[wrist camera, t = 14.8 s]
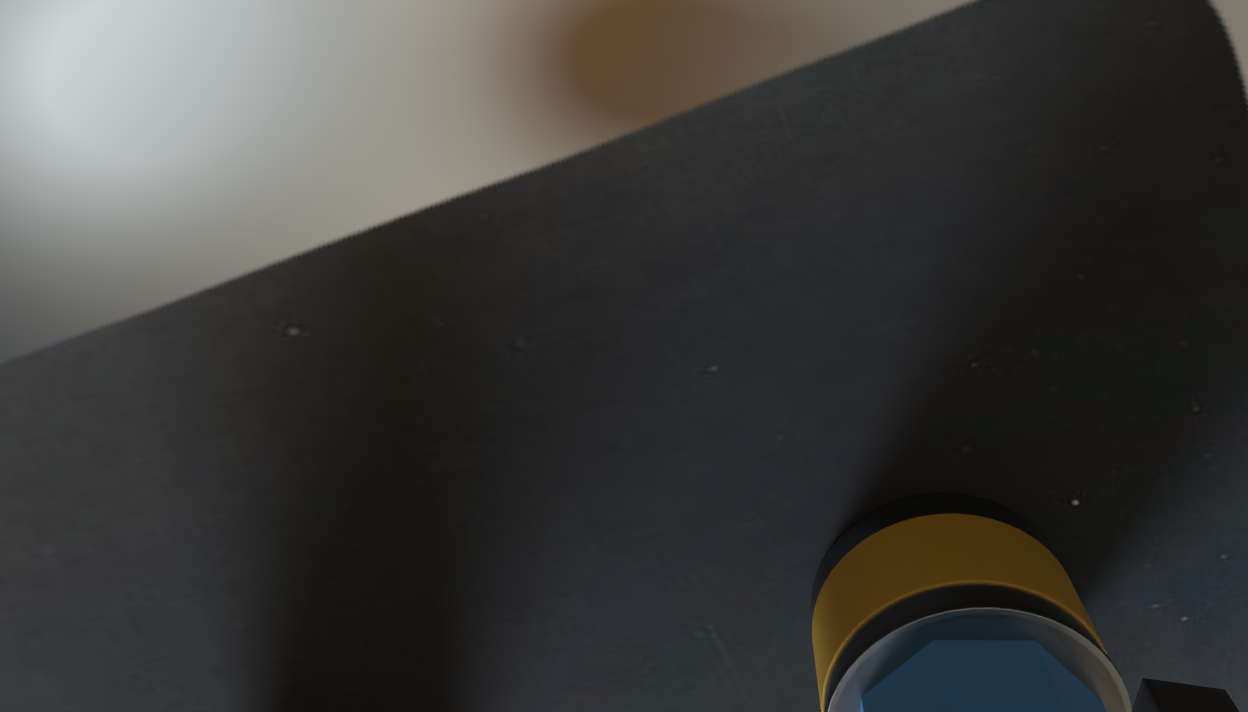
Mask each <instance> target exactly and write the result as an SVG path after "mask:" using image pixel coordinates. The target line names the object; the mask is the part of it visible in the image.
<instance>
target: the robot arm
mask: <svg viewBox="0 0 1248 712" xmlns="http://www.w3.org/2000/svg"><path fill="white" fill-rule="evenodd" d="M1132 712H1239V711H1238V709H1237V708H1236V706H1235V704H1234V703H1233V701H1232V700H1231V698H1230V696H1229V695H1228V693H1227V692H1226V690H1223V689H1216V688H1209V687H1202V686H1195V685H1188V684H1181V683H1174V682H1167V681H1160V680H1153V679H1146V678H1143V679H1142V682H1141V685H1140V688H1139V691H1138V694H1137V697H1136V700H1135V703H1134V706H1133V709H1132Z"/></svg>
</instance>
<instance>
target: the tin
mask: <svg viewBox="0 0 1248 712" xmlns="http://www.w3.org/2000/svg"><path fill="white" fill-rule="evenodd" d="M811 608H812V640H813V649H814V657H815V665H816V673H817V682H818V690H819V698H820V706H821V712H860V709H861V696H862V695H864V694H865V693H866V692H868V691H869V690H870V689H871V688H873V687H874V686H875V685H876V684H878V683H879V682H880V681H882V680H883V679H884V678H885V677H887V676H888V675H889V674H891V673H892V672H893V671H894V670H896V669H897V668H898V667H899V666H901V665H902V664H903V663H905V662H906V661H907V660H908V659H910V658H911V657H912V656H913V655H915V654H916V653H917V652H919V651H920V650H921V649H922V648H924V647H925V646H926V645H927V644H929V643H930V642H931V641H933V640H1036V641H1037V642H1038V643H1039V644H1040V645H1041V646H1042V647H1043V648H1044V649H1045V650H1047V651H1048V652H1049V653H1050V654H1051V655H1052V656H1053V657H1054V658H1055V659H1057V660H1058V661H1059V662H1060V663H1061V664H1062V665H1063V666H1064V667H1065V668H1066V669H1068V670H1069V671H1070V672H1071V673H1072V674H1073V675H1074V676H1075V677H1076V678H1078V679H1079V680H1080V681H1081V682H1082V683H1083V684H1084V685H1085V686H1086V687H1087V688H1089V689H1090V690H1091V691H1092V692H1093V693H1094V694H1095V695H1096V696H1097V697H1099V698H1100V699H1101V701H1102V703H1103V705H1104V707H1105V709H1106V712H1132V706H1131V702H1130V698H1129V694H1128V692H1127V689H1126V687H1125V685H1124V682H1123V680H1122V678H1121V676H1120V674H1119V672H1118V670H1117V669H1116V667H1115V666H1114V664H1113V662H1112V661H1111V659H1110V658H1109V656H1108V654H1107V652H1106V650H1105V647H1104V645H1103V643H1102V642H1101V640H1100V638H1099V636H1098V634H1097V632H1096V630H1095V628H1094V626H1093V624H1092V622H1091V620H1090V618H1089V616H1088V614H1087V612H1086V610H1085V608H1084V606H1083V604H1082V602H1081V600H1080V598H1079V596H1078V594H1077V592H1076V590H1075V588H1074V586H1073V584H1072V582H1071V580H1070V578H1069V576H1068V575H1067V573H1066V572H1065V570H1064V568H1063V567H1062V565H1061V564H1060V562H1059V561H1058V560H1057V558H1056V556H1055V554H1054V552H1053V551H1052V549H1051V548H1050V546H1049V545H1048V543H1047V541H1046V540H1045V539H1044V538H1043V537H1042V536H1041V534H1040V533H1039V532H1038V531H1037V530H1036V529H1035V528H1034V527H1033V526H1031V525H1030V524H1029V523H1028V522H1027V521H1026V520H1024V519H1023V518H1021V517H1020V516H1018V515H1017V514H1015V513H1014V512H1012V511H1010V510H1008V509H1006V508H1004V507H1002V506H1000V505H997V504H995V503H992V502H989V501H986V500H983V499H979V498H974V497H969V496H964V495H952V494H934V495H924V496H917V497H912V498H908V499H904V500H900V501H897V502H894V503H892V504H889V505H886V506H884V507H881V508H879V509H877V510H876V511H874V512H872V513H870V514H868V515H866V516H865V517H863V518H862V519H861V520H859V521H858V522H856V523H855V524H854V525H852V526H851V527H850V528H849V529H848V530H847V531H846V532H845V533H844V534H842V535H841V536H840V538H839V539H838V540H837V541H836V542H835V544H834V545H833V546H832V547H831V549H830V550H829V552H828V553H827V555H826V556H825V558H824V560H823V561H822V564H821V566H820V568H819V570H818V572H817V575H816V579H815V582H814V586H813V592H812V600H811Z"/></svg>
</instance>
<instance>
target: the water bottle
mask: <svg viewBox="0 0 1248 712" xmlns="http://www.w3.org/2000/svg"><path fill="white" fill-rule="evenodd" d="M860 712H1106V709H1105V707H1104V705H1103V703H1102V701H1101V699H1100V698H1099V697H1097V696H1096V695H1095V694H1094V693H1093V692H1092V691H1091V690H1090V689H1089V688H1087V687H1086V686H1085V685H1084V684H1083V683H1082V682H1081V681H1080V680H1079V679H1078V678H1076V677H1075V676H1074V675H1073V674H1072V673H1071V672H1070V671H1069V670H1068V669H1066V668H1065V667H1064V666H1063V665H1062V664H1061V663H1060V662H1059V661H1058V660H1057V659H1055V658H1054V657H1053V656H1052V655H1051V654H1050V653H1049V652H1048V651H1047V650H1045V649H1044V648H1043V647H1042V646H1041V645H1040V644H1039V643H1038V642H1037V641H1036V640H933V641H931V642H930V643H929V644H927V645H926V646H925V647H924V648H922V649H921V650H920V651H919V652H917V653H916V654H915V655H913V656H912V657H911V658H910V659H908V660H907V661H906V662H905V663H903V664H902V665H901V666H899V667H898V668H897V669H896V670H894V671H893V672H892V673H891V674H889V675H888V676H887V677H885V678H884V679H883V680H882V681H880V682H879V683H878V684H876V685H875V686H874V687H873V688H871V689H870V690H869V691H868V692H866V693H865V694H864V695H862V696H861V709H860Z"/></svg>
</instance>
